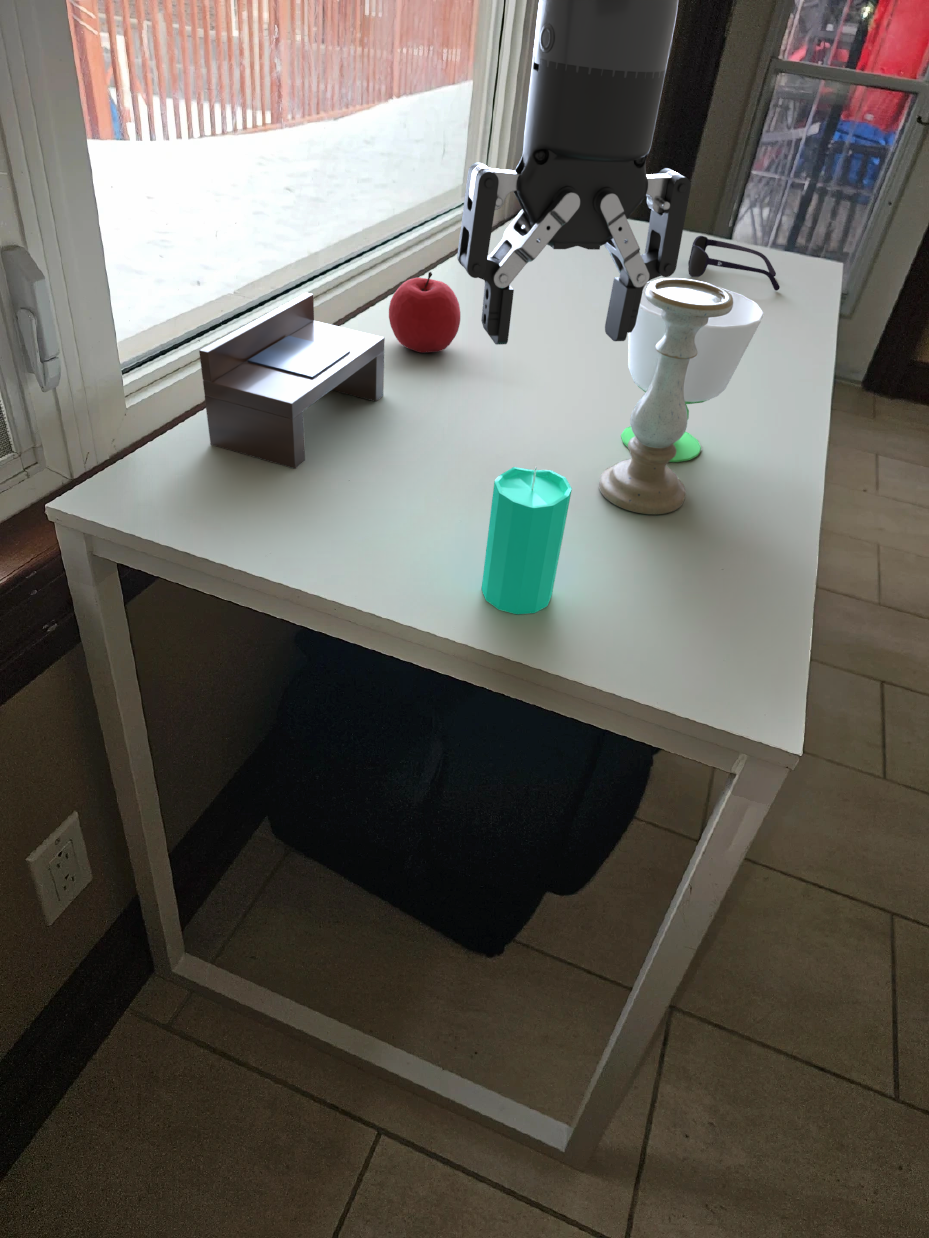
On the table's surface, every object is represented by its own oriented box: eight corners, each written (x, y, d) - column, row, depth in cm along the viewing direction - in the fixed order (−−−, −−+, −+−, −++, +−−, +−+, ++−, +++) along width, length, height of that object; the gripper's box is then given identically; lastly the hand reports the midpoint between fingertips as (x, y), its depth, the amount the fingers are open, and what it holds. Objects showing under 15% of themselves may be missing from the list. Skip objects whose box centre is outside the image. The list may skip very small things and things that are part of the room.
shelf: (295, 469, 84) (290, 373, 78) (210, 444, 86) (198, 350, 80) (383, 395, 99) (385, 310, 92) (308, 376, 101) (305, 292, 95)
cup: (579, 444, 93) (605, 300, 83) (631, 405, 102) (661, 271, 92) (694, 487, 88) (737, 338, 78) (738, 441, 97) (782, 303, 87)
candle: (564, 588, 72) (588, 465, 64) (530, 624, 68) (552, 496, 60) (504, 563, 74) (521, 440, 67) (468, 595, 70) (481, 469, 62)
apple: (461, 339, 114) (467, 263, 108) (453, 365, 107) (460, 285, 101) (394, 331, 114) (396, 255, 108) (382, 356, 107) (384, 276, 101)
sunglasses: (686, 260, 153) (693, 231, 150) (773, 272, 151) (782, 243, 148) (686, 282, 143) (694, 251, 139) (780, 296, 141) (790, 265, 138)
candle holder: (666, 471, 90) (718, 276, 77) (696, 515, 83) (758, 310, 70) (588, 471, 88) (627, 273, 76) (612, 517, 82) (660, 308, 69)
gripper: (684, 54, 51) (629, 317, 62) (460, 38, 48) (442, 320, 58) (745, 72, 46) (674, 358, 56) (498, 55, 42) (471, 364, 53)
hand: (556, 339), depth 57 cm, fingers open, 8 cm apart
